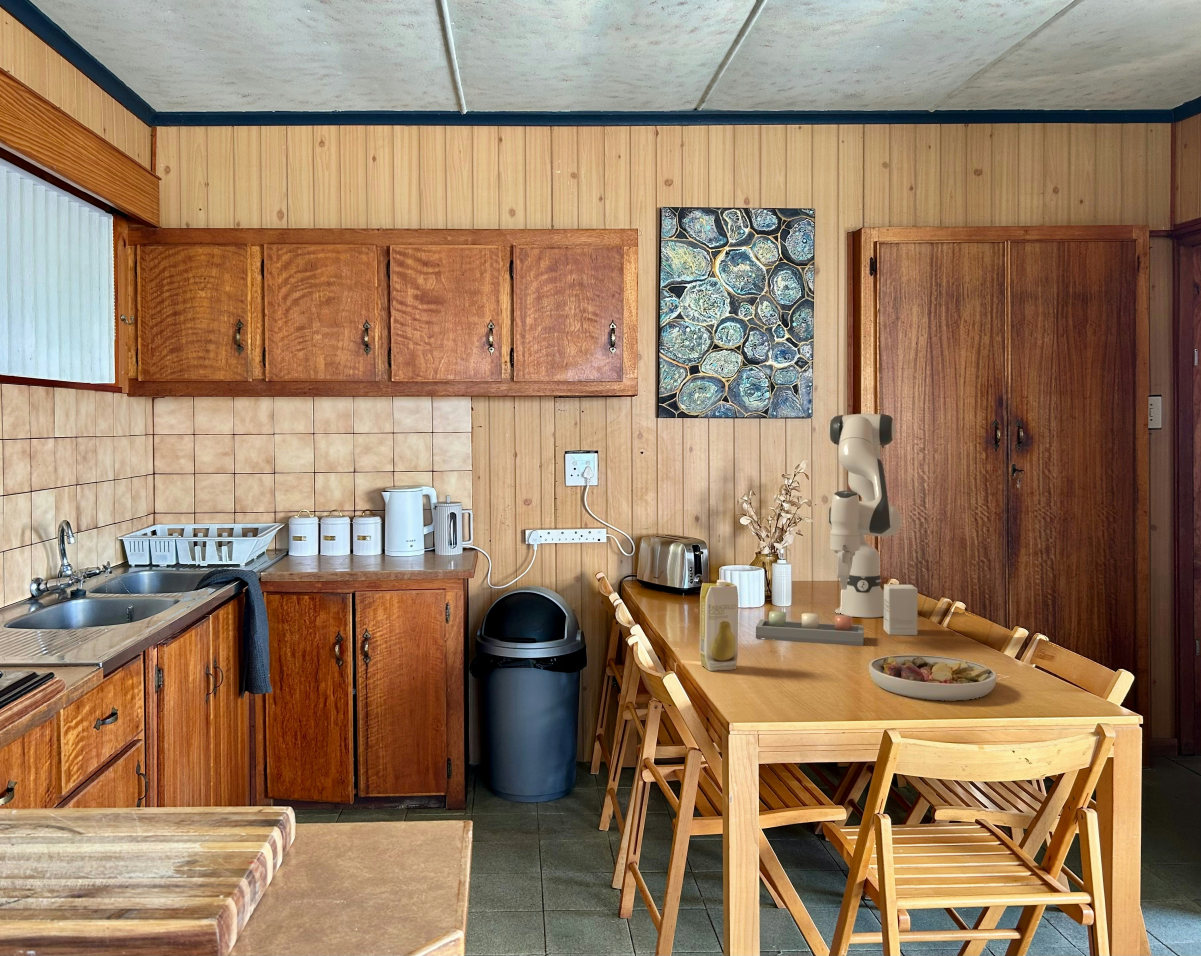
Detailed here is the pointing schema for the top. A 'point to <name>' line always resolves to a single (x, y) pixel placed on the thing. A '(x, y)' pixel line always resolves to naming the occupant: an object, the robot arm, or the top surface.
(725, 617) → the juice carton
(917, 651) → the top surface
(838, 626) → the brick button
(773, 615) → the sage button
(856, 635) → the grey rectangular tray
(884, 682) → the bowl
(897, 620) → the supplement box
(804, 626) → the cream round piece
